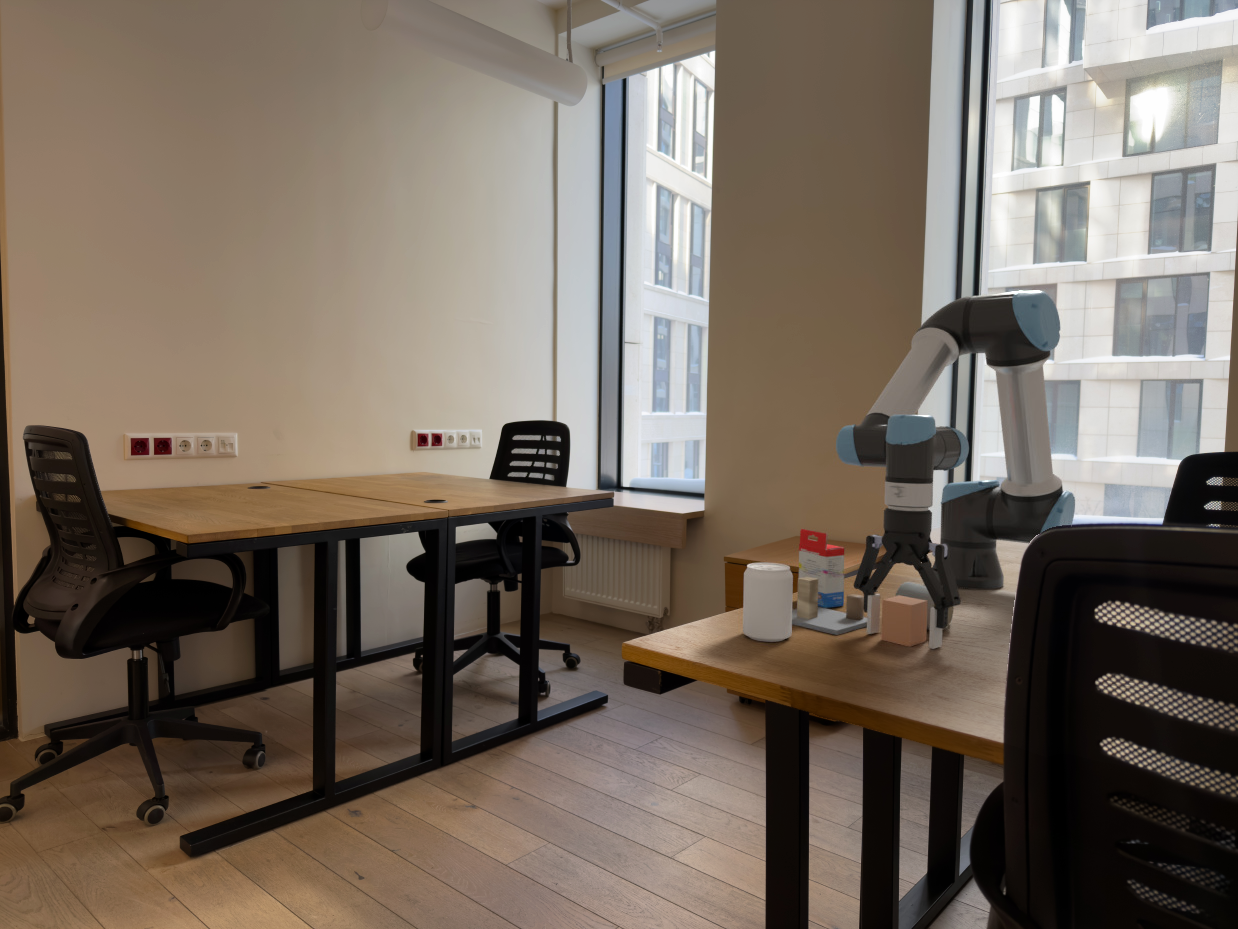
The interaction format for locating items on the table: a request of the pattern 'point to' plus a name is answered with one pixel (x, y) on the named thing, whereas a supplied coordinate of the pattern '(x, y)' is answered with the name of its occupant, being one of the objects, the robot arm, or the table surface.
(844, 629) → the slate plate
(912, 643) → the peach foam cube
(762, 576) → the beverage can
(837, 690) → the table surface
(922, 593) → the ceramic mug
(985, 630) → the table surface
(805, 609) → the maple post
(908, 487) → the robot arm
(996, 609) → the table surface
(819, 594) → the ink box
